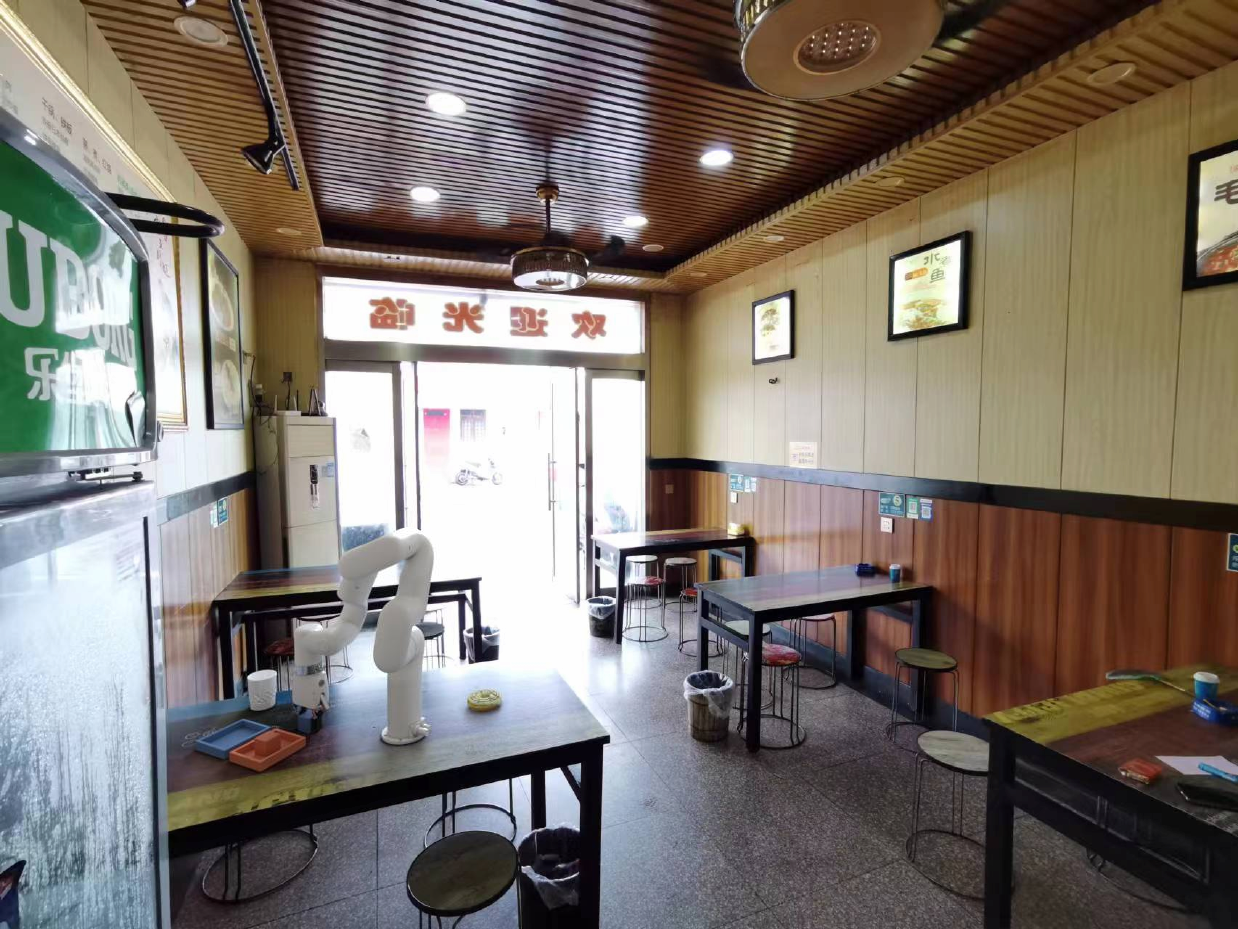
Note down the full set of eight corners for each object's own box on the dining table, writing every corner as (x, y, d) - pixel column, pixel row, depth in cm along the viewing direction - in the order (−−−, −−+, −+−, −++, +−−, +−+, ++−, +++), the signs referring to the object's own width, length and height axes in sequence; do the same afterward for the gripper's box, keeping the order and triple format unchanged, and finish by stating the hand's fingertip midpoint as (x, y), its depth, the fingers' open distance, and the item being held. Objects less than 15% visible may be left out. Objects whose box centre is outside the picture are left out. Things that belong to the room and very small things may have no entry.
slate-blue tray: (271, 735, 170) (271, 726, 170) (224, 759, 158) (224, 750, 157) (243, 726, 174) (243, 718, 174) (195, 749, 162) (195, 741, 162)
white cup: (282, 703, 189) (282, 672, 189) (258, 714, 182) (258, 682, 181) (266, 698, 193) (265, 668, 192) (242, 708, 185) (241, 677, 185)
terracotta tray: (305, 745, 165) (305, 737, 165) (260, 771, 153) (260, 762, 152) (276, 736, 169) (276, 728, 169) (229, 761, 157) (229, 752, 157)
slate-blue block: (321, 726, 176) (321, 712, 175) (309, 733, 172) (309, 718, 171) (311, 723, 177) (310, 709, 177) (298, 730, 173) (297, 715, 173)
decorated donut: (506, 708, 190) (507, 696, 189) (474, 716, 184) (474, 705, 183) (494, 695, 198) (494, 684, 198) (462, 703, 192) (463, 691, 192)
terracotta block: (281, 749, 162) (280, 733, 162) (266, 757, 158) (265, 741, 158) (269, 746, 164) (269, 730, 163) (254, 754, 160) (254, 738, 159)
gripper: (341, 667, 173) (342, 728, 175) (299, 658, 180) (300, 716, 181) (320, 677, 166) (320, 740, 168) (276, 667, 173) (277, 727, 174)
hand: (310, 727), depth 174 cm, fingers open, 4 cm apart
